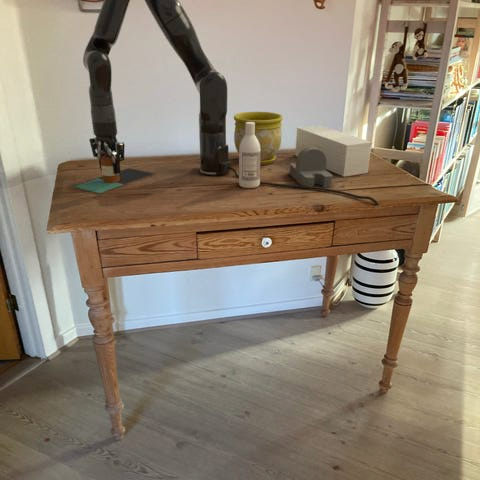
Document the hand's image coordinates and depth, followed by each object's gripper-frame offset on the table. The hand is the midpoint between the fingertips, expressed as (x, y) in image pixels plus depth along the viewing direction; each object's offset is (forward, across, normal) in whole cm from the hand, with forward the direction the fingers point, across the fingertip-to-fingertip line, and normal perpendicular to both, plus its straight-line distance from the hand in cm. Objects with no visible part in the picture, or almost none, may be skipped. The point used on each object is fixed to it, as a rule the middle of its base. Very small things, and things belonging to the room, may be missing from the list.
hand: (110, 171), depth 176 cm
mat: (+3, 0, -2) cm, 4 cm away
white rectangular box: (+3, -52, -62) cm, 81 cm away
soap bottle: (+3, 0, 0) cm, 3 cm away
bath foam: (+3, -41, -23) cm, 47 cm away
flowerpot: (+3, -27, -51) cm, 57 cm away
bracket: (+3, -55, -40) cm, 68 cm away
